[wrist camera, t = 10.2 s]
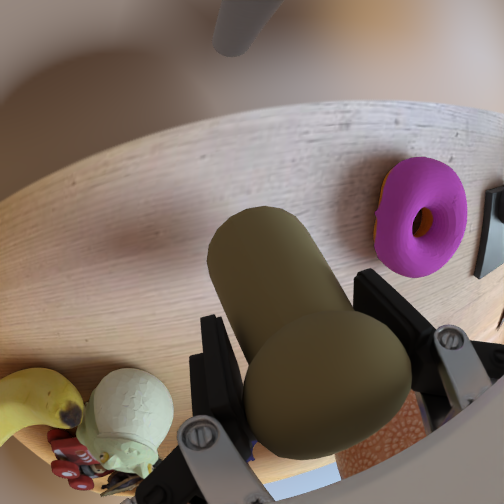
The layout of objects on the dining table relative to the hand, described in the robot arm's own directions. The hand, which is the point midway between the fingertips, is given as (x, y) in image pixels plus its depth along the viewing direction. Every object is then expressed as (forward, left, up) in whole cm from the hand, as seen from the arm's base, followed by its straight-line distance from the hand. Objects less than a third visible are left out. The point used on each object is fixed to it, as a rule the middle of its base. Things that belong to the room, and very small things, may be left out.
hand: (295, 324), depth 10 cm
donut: (-9, +11, -10) cm, 18 cm away
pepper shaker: (0, 0, -6) cm, 6 cm away
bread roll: (+45, +8, -10) cm, 47 cm away
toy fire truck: (+41, -7, -6) cm, 42 cm away
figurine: (+22, -1, -10) cm, 25 cm away
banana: (+27, -13, -10) cm, 31 cm away
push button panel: (-19, +29, -10) cm, 37 cm away
